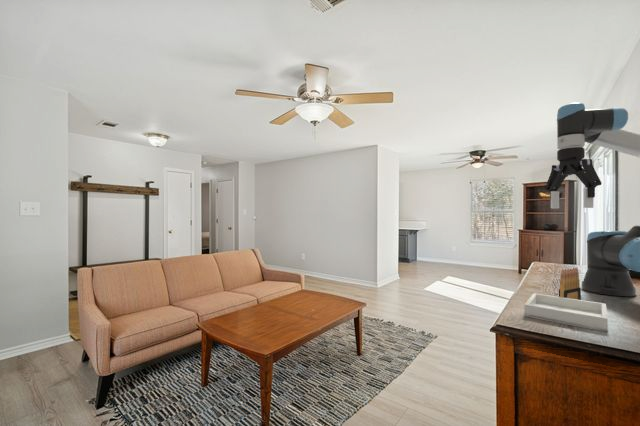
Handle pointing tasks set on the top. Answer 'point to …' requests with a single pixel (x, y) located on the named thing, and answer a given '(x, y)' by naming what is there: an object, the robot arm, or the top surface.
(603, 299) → the top surface
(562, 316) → the tray
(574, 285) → the ammunition clip
